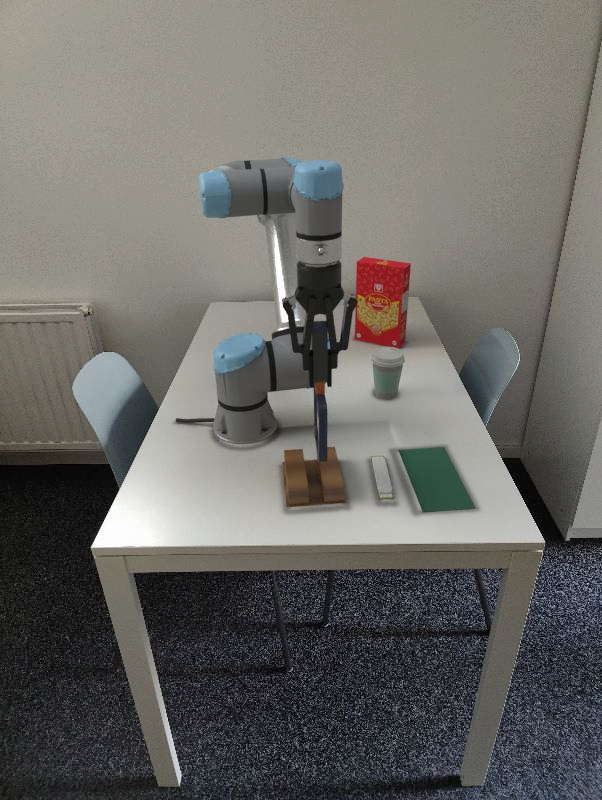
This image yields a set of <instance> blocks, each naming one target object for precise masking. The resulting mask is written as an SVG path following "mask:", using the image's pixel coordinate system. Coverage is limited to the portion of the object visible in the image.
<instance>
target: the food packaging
mask: <svg viewBox="0 0 602 800" xmlns="http://www.w3.org/2000/svg"><path fill="white" fill-rule="evenodd" d="M411 266H412V263H411V262H406V261H405V262H404V261H397V260H390V259H383V258H377V257H376V258H375V257H368V256H363V257H361V258H360V259H358V260H357V261H356V269H355V270H356V271H355V272H356V273H355V296H356V299H357V301H358V303H357V305H356V307H355V309H354V311H355V312H354V340H356V341H360V342H364V343H370V344H374V345H379V346H382V347H394V348H398V349H401V347H402V346H403V345H404V344H405V343H406V336H407V335H406V333H407V320H408V307H409V294H410V281H411V268H412V267H411Z"/></svg>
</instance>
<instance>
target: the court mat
mask: <svg viewBox="0 0 602 800" xmlns="http://www.w3.org/2000/svg"><path fill="white" fill-rule="evenodd" d="M397 451H398V453H399V456H400V458H401V461H402V464H403V466H404V469H405V471H406V475H407V476H408V479H409V481H410V484H411V486H412V489H413V492H414V494H415V497H416V499H417V501H418V504H419V507H420V510H421V512H422V513H431V512H433V513H434V512H442V511H443V512H445V511H457V510H472V509H476V506H475V504H474V502H473V500H472V498H471V497H470V494H469V493H468V491H467V489H466V486H465V485H464V482H463V481H462V478H461V477H460V475H459V473H458V470H457V469H456V467H455V465H454V464H453V461H452V460H451V457H450V456H449V453H448V451H447V450H446V447H445V446H437V447H422V448H420V447H419V448H407V449H405V448H404V449H397Z"/></svg>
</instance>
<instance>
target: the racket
mask: <svg viewBox="0 0 602 800" xmlns="http://www.w3.org/2000/svg"><path fill="white" fill-rule="evenodd" d="M328 332H329V327H328V325H327V322H326V320H314V322H313V328H312V352H313V367H314V388H313V432H314V433H313V435H314V441H315V447H316V448H317V451H316V455H317V454H318V460H319V462H327V447H328V405H327V398H326V383H327V382H326V381H328ZM325 382H326V383H325Z"/></svg>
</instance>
